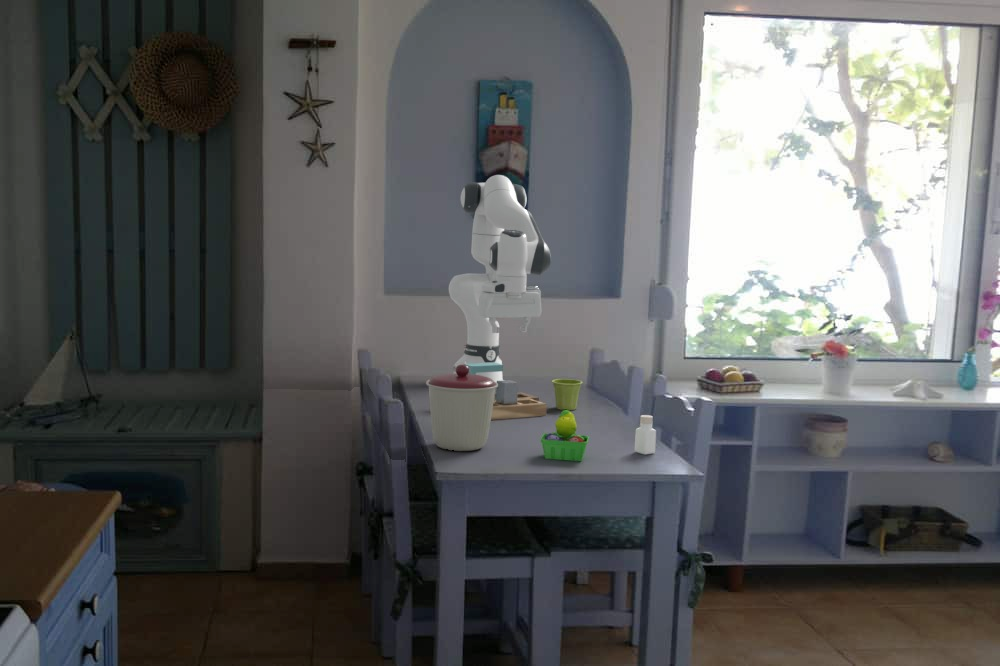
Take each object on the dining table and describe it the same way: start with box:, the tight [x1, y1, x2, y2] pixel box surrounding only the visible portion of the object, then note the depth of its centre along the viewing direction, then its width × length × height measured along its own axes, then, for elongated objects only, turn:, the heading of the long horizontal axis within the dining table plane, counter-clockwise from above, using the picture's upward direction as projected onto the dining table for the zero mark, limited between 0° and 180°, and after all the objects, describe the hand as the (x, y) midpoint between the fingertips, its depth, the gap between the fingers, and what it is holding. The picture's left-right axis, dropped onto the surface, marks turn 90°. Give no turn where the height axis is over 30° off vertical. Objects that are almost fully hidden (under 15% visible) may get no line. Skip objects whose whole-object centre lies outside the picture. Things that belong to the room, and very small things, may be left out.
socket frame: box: [494, 391, 540, 402], centre depth 304 cm, size 27×10×3 cm, turn 121°
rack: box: [491, 398, 548, 421], centre depth 292 cm, size 10×22×4 cm, turn 121°
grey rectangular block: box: [495, 379, 519, 405], centre depth 292 cm, size 5×5×10 cm
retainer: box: [464, 363, 504, 375], centre depth 300 cm, size 13×7×12 cm, turn 121°
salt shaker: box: [634, 414, 657, 455], centre depth 249 cm, size 4×4×10 cm
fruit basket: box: [540, 409, 590, 462], centre depth 241 cm, size 11×9×11 cm
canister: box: [425, 365, 498, 452], centre depth 247 cm, size 18×18×21 cm
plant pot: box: [551, 378, 583, 411], centre depth 305 cm, size 9×9×9 cm
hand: (509, 332), depth 290 cm, fingers open, 8 cm apart
